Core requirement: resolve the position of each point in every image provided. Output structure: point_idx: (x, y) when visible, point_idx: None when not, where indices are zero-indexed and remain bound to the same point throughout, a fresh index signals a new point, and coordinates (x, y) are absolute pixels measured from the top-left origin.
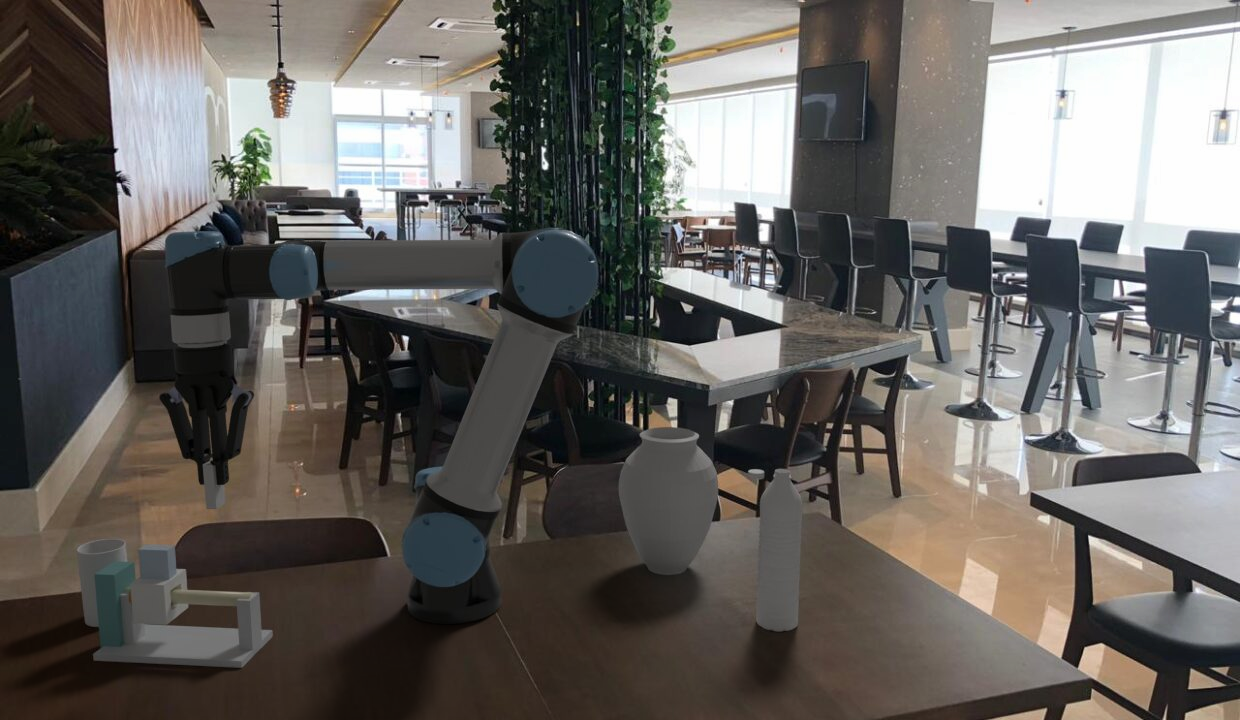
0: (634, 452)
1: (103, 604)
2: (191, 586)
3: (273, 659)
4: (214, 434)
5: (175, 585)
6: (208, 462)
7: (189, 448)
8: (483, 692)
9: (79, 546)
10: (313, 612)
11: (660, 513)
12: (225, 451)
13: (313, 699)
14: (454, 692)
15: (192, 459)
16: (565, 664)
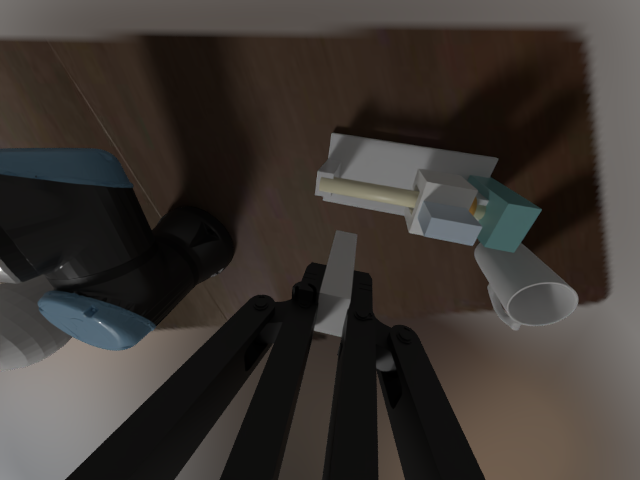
0: (1, 355)
1: (508, 192)
2: (425, 303)
3: (308, 150)
4: (277, 384)
5: (415, 204)
6: (341, 315)
7: (394, 357)
8: (108, 73)
9: (574, 309)
10: (303, 241)
11: (15, 287)
12: (264, 316)
13: (242, 57)
14: (130, 73)
15: (386, 326)
16: (76, 128)
